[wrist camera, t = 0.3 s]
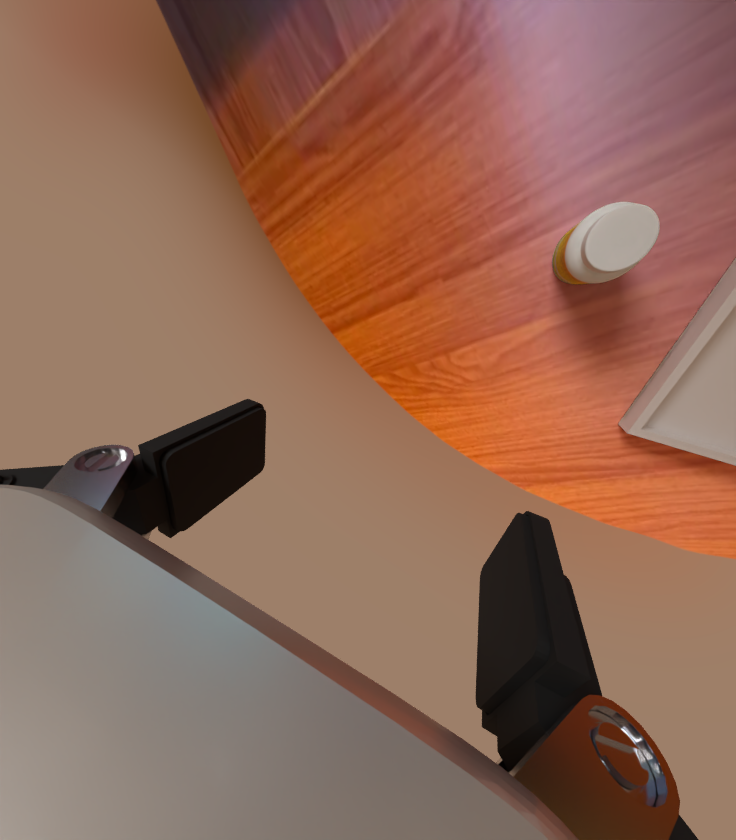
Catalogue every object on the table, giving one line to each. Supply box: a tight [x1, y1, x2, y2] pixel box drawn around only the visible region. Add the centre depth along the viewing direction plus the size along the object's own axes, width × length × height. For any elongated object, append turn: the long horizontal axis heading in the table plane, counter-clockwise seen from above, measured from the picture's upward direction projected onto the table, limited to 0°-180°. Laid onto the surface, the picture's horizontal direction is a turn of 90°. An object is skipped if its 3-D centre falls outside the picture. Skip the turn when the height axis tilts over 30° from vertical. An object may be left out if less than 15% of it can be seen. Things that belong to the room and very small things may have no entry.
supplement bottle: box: [552, 202, 660, 285], centre depth 23 cm, size 5×5×10 cm
